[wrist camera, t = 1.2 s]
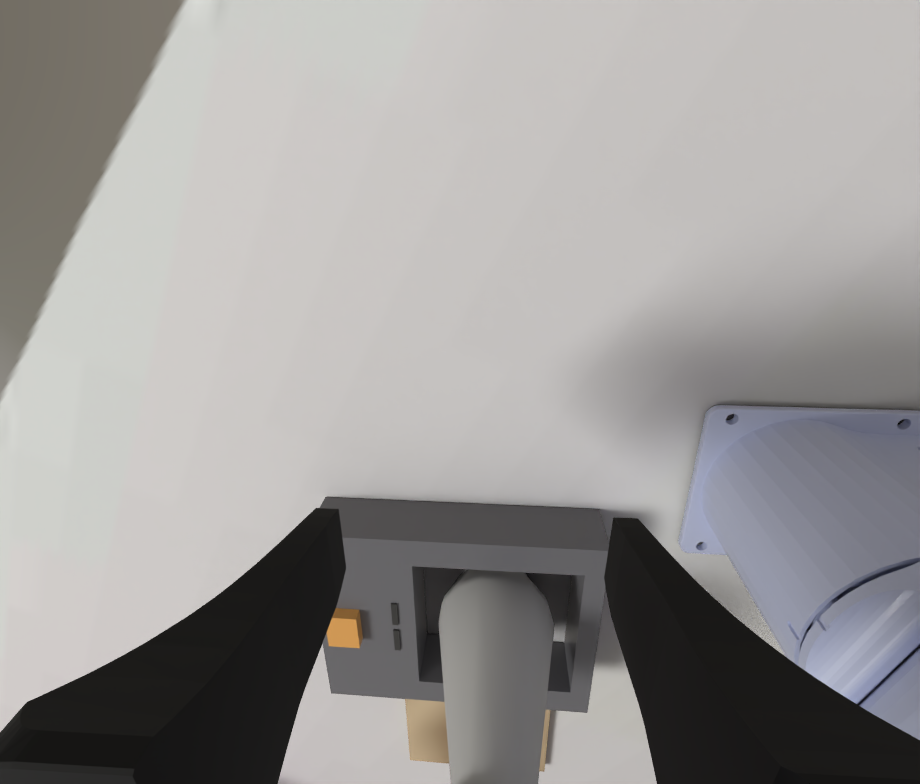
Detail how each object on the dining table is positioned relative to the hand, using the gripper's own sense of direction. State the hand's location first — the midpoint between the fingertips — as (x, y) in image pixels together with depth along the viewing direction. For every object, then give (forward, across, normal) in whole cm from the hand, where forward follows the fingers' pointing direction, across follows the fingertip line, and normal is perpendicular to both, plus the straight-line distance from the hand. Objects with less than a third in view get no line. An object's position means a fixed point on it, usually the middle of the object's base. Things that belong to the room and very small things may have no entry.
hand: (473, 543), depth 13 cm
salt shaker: (+10, -1, +12) cm, 16 cm away
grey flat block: (+10, +1, +12) cm, 16 cm away
